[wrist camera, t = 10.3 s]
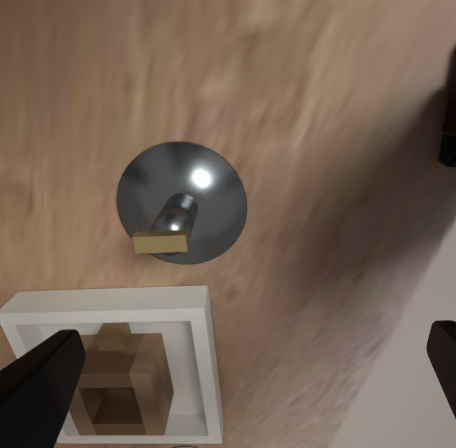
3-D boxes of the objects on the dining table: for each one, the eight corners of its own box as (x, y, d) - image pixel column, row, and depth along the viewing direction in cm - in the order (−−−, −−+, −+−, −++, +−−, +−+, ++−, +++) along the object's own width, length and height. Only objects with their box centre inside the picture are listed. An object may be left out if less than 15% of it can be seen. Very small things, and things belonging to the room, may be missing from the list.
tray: (208, 285, 22) (204, 308, 20) (223, 415, 28) (221, 443, 26) (18, 291, 23) (-5, 313, 21) (71, 415, 29) (58, 443, 27)
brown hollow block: (174, 391, 26) (164, 435, 23) (99, 392, 26) (79, 435, 23) (158, 320, 23) (145, 359, 20) (74, 322, 23) (47, 361, 20)
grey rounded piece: (243, 136, 18) (243, 156, 13) (249, 259, 21) (251, 307, 17) (105, 146, 18) (61, 168, 14) (132, 263, 22) (104, 311, 17)
